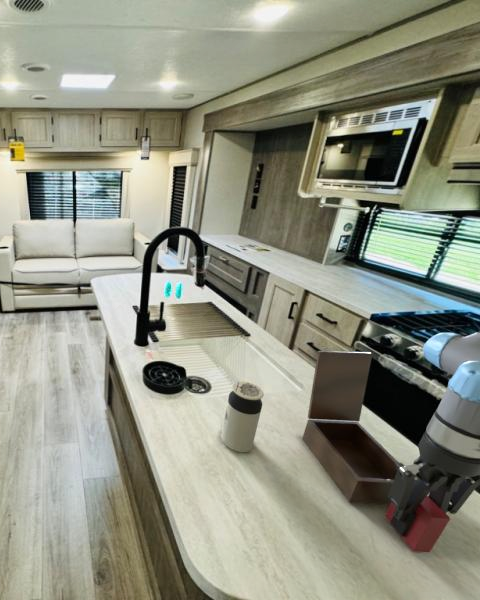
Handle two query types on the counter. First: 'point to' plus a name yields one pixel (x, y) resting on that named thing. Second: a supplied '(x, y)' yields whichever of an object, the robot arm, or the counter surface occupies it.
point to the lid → (339, 385)
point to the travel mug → (242, 416)
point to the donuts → (169, 287)
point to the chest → (352, 460)
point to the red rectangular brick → (423, 525)
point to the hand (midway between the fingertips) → (407, 529)
